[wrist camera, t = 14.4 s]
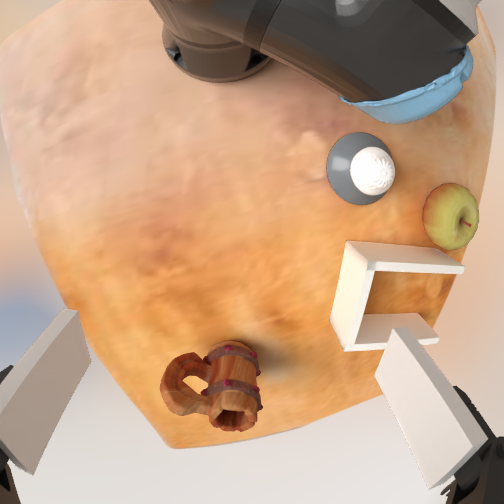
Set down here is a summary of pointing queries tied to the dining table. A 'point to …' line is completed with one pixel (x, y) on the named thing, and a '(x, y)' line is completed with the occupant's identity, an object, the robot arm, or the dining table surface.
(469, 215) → the apple
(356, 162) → the white rounded ribbed piece
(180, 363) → the mug
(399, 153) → the dining table surface
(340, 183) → the coaster
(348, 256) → the cubby
